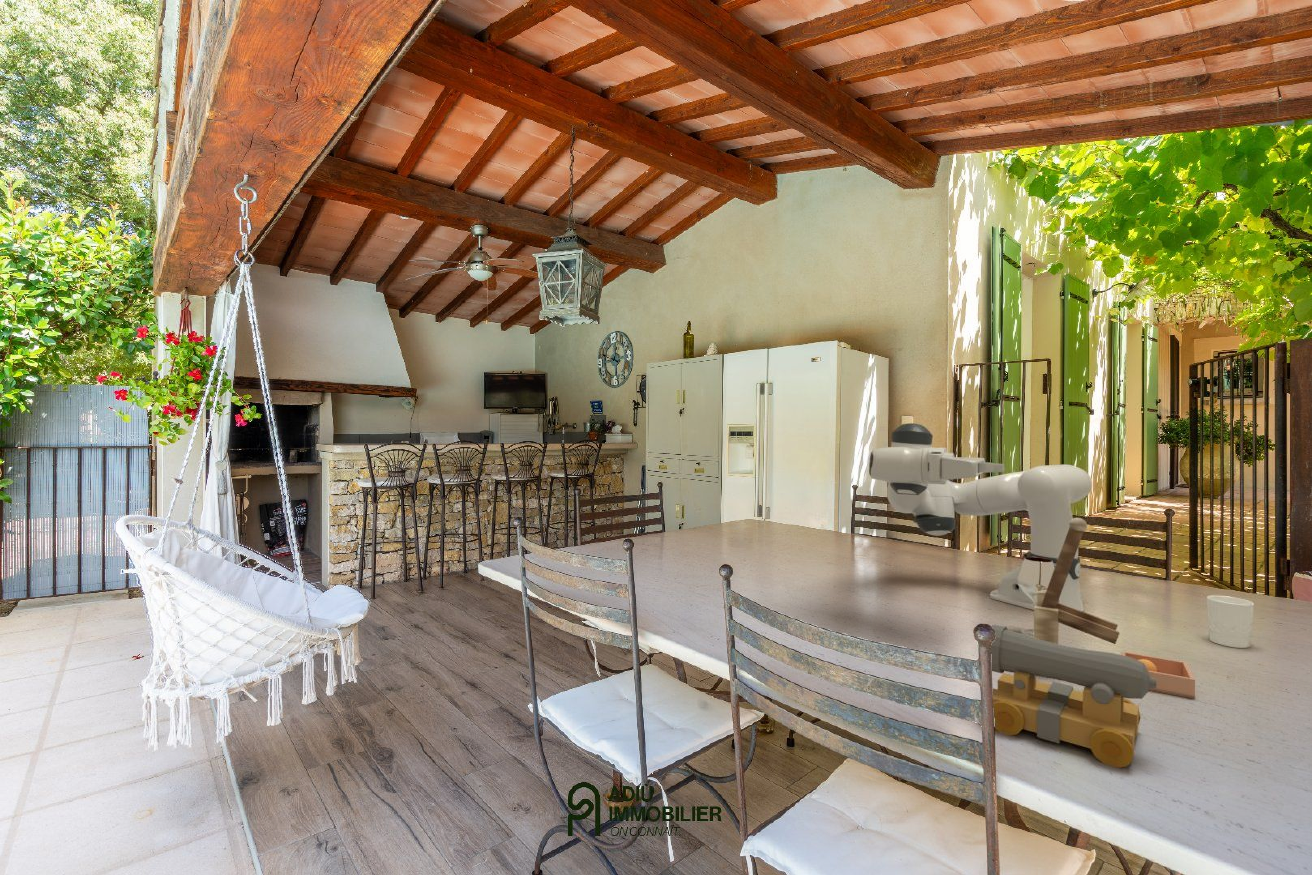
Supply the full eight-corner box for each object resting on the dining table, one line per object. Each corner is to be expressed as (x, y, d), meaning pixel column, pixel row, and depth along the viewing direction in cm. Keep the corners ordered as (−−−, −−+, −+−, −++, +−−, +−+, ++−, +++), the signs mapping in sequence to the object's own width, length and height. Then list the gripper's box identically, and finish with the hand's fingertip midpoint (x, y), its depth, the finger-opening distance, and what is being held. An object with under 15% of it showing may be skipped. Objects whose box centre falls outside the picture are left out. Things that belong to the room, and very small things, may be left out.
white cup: (1262, 650, 136) (1263, 606, 136) (1221, 647, 138) (1222, 603, 138) (1236, 638, 144) (1237, 596, 144) (1197, 636, 146) (1198, 594, 145)
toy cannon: (1151, 780, 86) (1154, 674, 86) (978, 727, 101) (979, 636, 100) (1157, 736, 98) (1159, 643, 98) (1001, 695, 113) (1003, 614, 113)
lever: (1036, 618, 125) (1072, 519, 121) (1038, 604, 134) (1071, 512, 131) (1115, 649, 117) (1156, 544, 114) (1112, 632, 127) (1149, 535, 123)
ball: (1126, 667, 120) (1140, 655, 119) (1131, 666, 123) (1144, 654, 121) (1145, 683, 118) (1159, 671, 116) (1149, 682, 120) (1163, 669, 119)
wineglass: (1054, 632, 147) (1055, 557, 147) (1060, 643, 140) (1061, 564, 140) (1014, 627, 151) (1016, 554, 150) (1018, 637, 143) (1020, 561, 143)
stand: (1018, 670, 124) (1019, 606, 124) (1023, 645, 138) (1024, 588, 138) (1072, 680, 119) (1073, 614, 119) (1071, 654, 133) (1073, 594, 133)
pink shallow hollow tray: (1124, 685, 117) (1124, 667, 117) (1120, 668, 126) (1121, 651, 126) (1194, 698, 112) (1195, 679, 112) (1185, 679, 120) (1186, 662, 120)
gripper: (944, 476, 156) (1006, 478, 149) (930, 481, 139) (1000, 485, 131) (944, 451, 156) (1007, 452, 148) (930, 454, 139) (1000, 455, 131)
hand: (1003, 467), depth 140 cm, fingers closed
